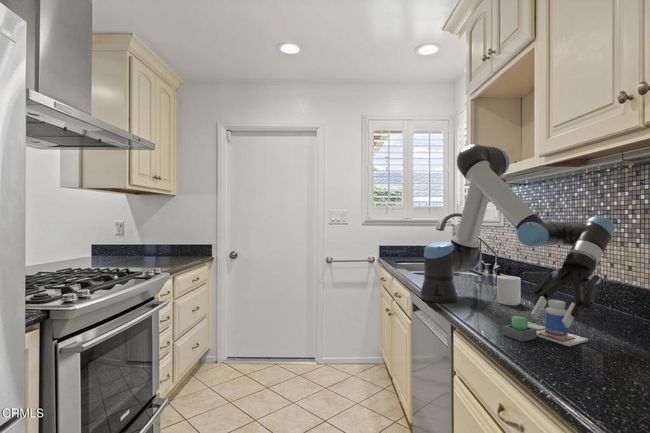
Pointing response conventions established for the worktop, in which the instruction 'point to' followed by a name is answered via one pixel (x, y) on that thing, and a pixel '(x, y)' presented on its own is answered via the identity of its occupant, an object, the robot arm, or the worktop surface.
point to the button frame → (519, 333)
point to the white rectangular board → (567, 341)
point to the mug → (508, 290)
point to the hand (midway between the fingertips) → (549, 320)
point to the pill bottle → (555, 319)
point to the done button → (520, 323)
